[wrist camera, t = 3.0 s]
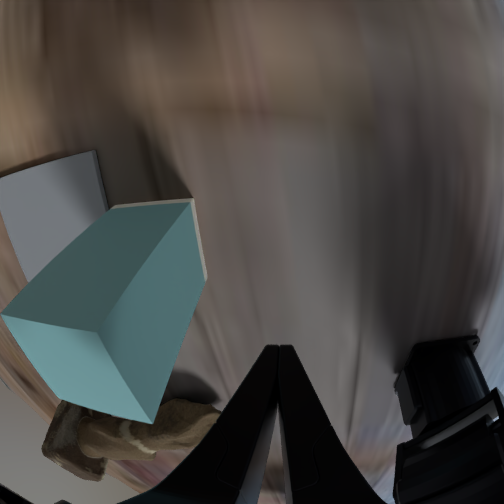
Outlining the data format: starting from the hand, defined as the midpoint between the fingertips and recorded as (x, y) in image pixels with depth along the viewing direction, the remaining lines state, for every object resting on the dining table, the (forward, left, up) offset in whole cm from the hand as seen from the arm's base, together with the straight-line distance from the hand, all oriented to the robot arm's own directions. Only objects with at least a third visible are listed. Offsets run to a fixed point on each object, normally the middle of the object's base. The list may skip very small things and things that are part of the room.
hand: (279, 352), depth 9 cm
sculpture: (+16, +20, -8) cm, 27 cm away
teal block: (+7, 0, -8) cm, 11 cm away
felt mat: (+16, 0, -8) cm, 18 cm away
